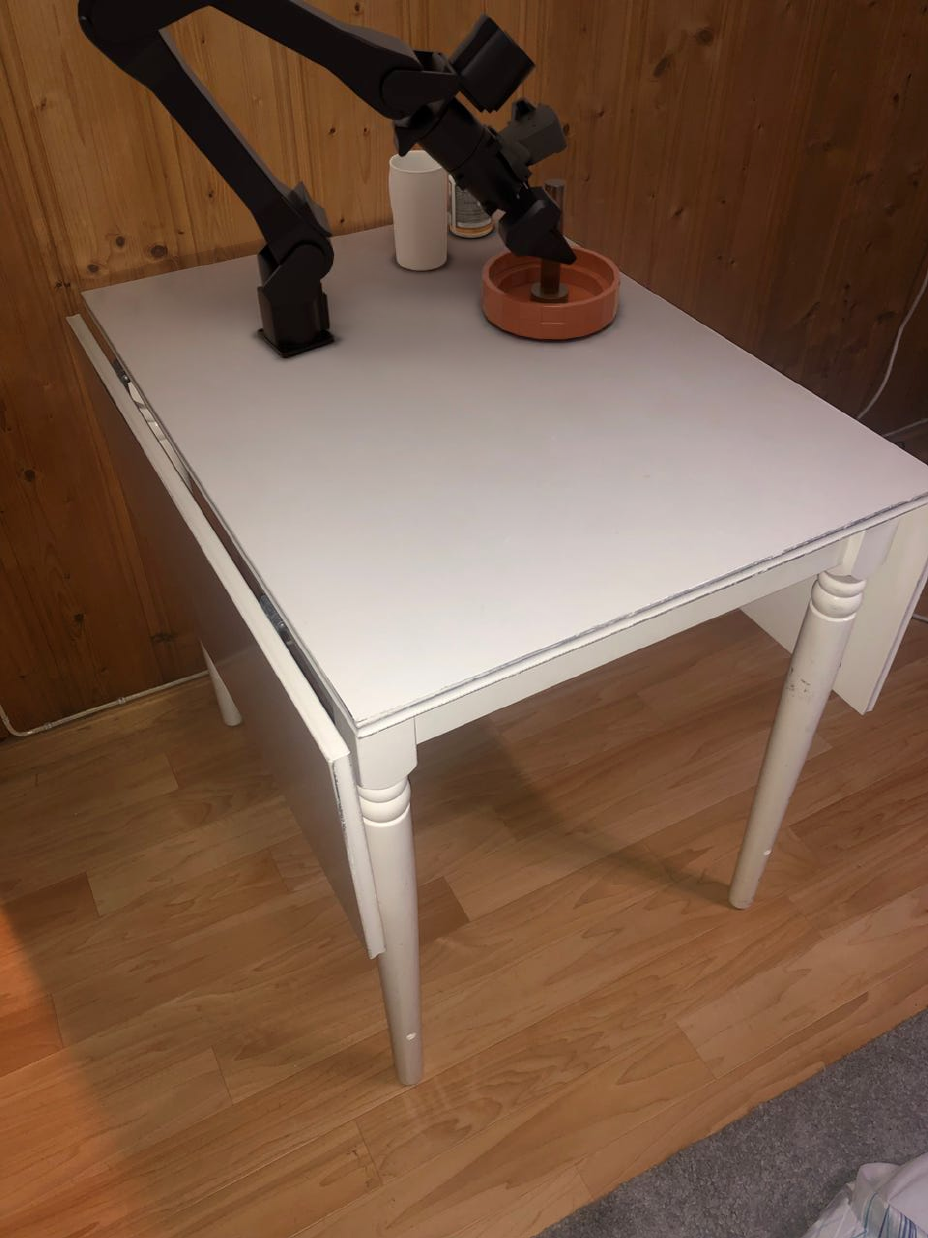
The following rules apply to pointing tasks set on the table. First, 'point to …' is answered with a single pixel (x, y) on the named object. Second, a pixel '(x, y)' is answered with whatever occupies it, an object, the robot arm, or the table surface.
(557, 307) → the bowl
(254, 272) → the table surface
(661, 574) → the table surface
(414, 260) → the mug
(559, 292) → the stick
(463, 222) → the pill bottle
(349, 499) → the table surface
